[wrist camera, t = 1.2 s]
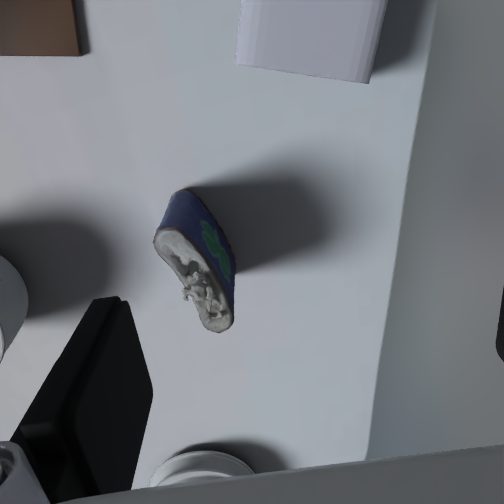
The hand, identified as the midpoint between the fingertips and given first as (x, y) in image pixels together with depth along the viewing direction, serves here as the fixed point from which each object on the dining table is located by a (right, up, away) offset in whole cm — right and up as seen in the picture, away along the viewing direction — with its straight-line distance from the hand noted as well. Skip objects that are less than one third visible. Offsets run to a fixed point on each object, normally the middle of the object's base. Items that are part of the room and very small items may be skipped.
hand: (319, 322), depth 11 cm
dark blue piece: (-6, +3, +27) cm, 28 cm away
